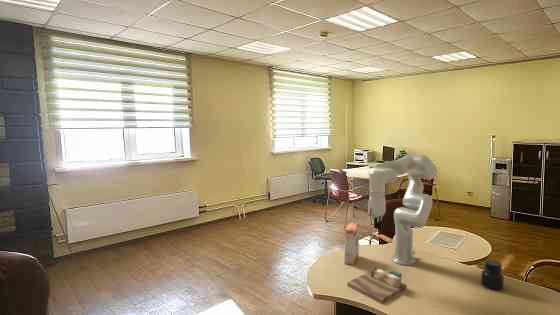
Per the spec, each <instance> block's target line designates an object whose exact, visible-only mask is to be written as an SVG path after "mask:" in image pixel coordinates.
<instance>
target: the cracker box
mask: <svg viewBox="0 0 560 315" xmlns="http://www.w3.org/2000/svg"><path fill="white" fill-rule="evenodd" d="M359 235H360V223H357V222H349V223H348V225H347V226H346V227H345V229H344V264H345V265H351V266H355V264H356V262H357V259H358V257H359V247H360V246H359V243H360V242H359V239H360V238H359V237H360V236H359Z"/></svg>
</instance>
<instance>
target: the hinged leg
mask: <svg viewBox="0 0 560 315" xmlns="http://www.w3.org/2000/svg"><path fill="white" fill-rule="evenodd" d="M370 271H371V276H372V277H374V278H376V279H378V280H381V281H383V282H385V283H387V284H390V285H392V286H394V287H397V288H398V287H400V286H401V283H402V277H401V278H400V277H398V276H395V275H393V274H390V272H387V271H385V270H382V269H381V268H378V267H375V266H373V267H371V268H370Z"/></svg>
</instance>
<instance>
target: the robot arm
mask: <svg viewBox="0 0 560 315" xmlns="http://www.w3.org/2000/svg"><path fill="white" fill-rule="evenodd" d="M406 173H407V179H408V186H407V189H406V191H405V194H404V196H403V198H402V205H403V206H404V207H402V206H401V207H397V208H396V209H394V212H393V220H394V225H395V226H394V227H395V228H394V230H395V233H394V234H395V235H394V237H395V239H394V255H392V257H391V260H392V261H393V263H395V264H398V265H403V266H412V265H415V263H416V258H414V257H413V256H414V255H416V251H415V250H413V248H414V245H413V244H414V242H413V241H414V240H413V238H414V232H413V228H416V229H422V228H424V227H425V225H426V224H427V222H428V218H429V215H430V213H431V210H432V208H433V199H432V196H431V195H429V194H426V193H423V192H424V189H425V187H424V184H423V182H422V180H421V179H429V180H432V179H435V178H436V177H437V176H438V168H437V166H436V164H435V163H434V161H432V160H431V159H430V158H429V157H428V156H426V155H423V154H414V153H413V154H412V153H411V154H410V153H409V154H406V155H404V156H402V157H400V158H398V159H395V160H391V161H385V162H381V163H378V164H375V165H374V166H372V167H371V168H370V170H369V173H368V175H369V176H368V177H369V180H368V182H369V183H368V184H369V186H368V187H369V198H368V202H367V216H369V217H370V220H372V221H373V228H374V229H377V230H380V229H381V230H382V221H383V220H382V219H383V216H385V214H386V211H387V210H386V208H387V206H386V204H387V202H386V193H385V192H386V187H385V186H386V184H390V183H391V184H392V183H393V182H395V181H396V180H397V179H398V176H401V175H404V174H406Z"/></svg>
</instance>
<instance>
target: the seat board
mask: <svg viewBox="0 0 560 315" xmlns="http://www.w3.org/2000/svg"><path fill="white" fill-rule="evenodd" d="M389 273H390V274H393V275H395V276H398V277H400V278H401V279H402V273H401V272H399V271H396V270H394V269H392V270H389ZM347 287H349V288H350V289H353V290H354V291H356V292H358V293H360V294H362V295H364V296H366V297H368V298H370V299H372V300H374V301H376V302H378V303H379V304H381V305H382V304H383V305H384V303H386V302H388V301H389V300H391V299H392V298H394V297H396V296H398V295H399V294H400V293H402V292H404V291H405V290H407V284H406V283H403V282H401V286H400V287H398V288H397V287H394V286H392V285H390V284H387V283H385V282H383V281H381V280H378V279H376V278H374V277H372V276H371V270H370V271H368V272H366V273H364V274H362V275H360V276H357V277H356V278H354V279H351V280H349V281H347Z"/></svg>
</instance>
